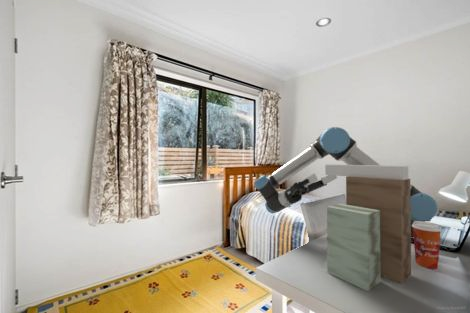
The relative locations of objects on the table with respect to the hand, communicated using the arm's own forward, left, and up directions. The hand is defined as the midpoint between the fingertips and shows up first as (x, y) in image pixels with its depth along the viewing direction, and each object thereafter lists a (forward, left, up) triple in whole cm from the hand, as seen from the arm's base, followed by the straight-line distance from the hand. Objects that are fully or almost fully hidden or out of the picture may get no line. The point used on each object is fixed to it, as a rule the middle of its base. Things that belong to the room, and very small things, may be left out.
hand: (326, 175), depth 86 cm
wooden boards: (+5, +18, -29) cm, 35 cm away
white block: (-1, +13, +1) cm, 13 cm away
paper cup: (-17, +27, -30) cm, 43 cm away
